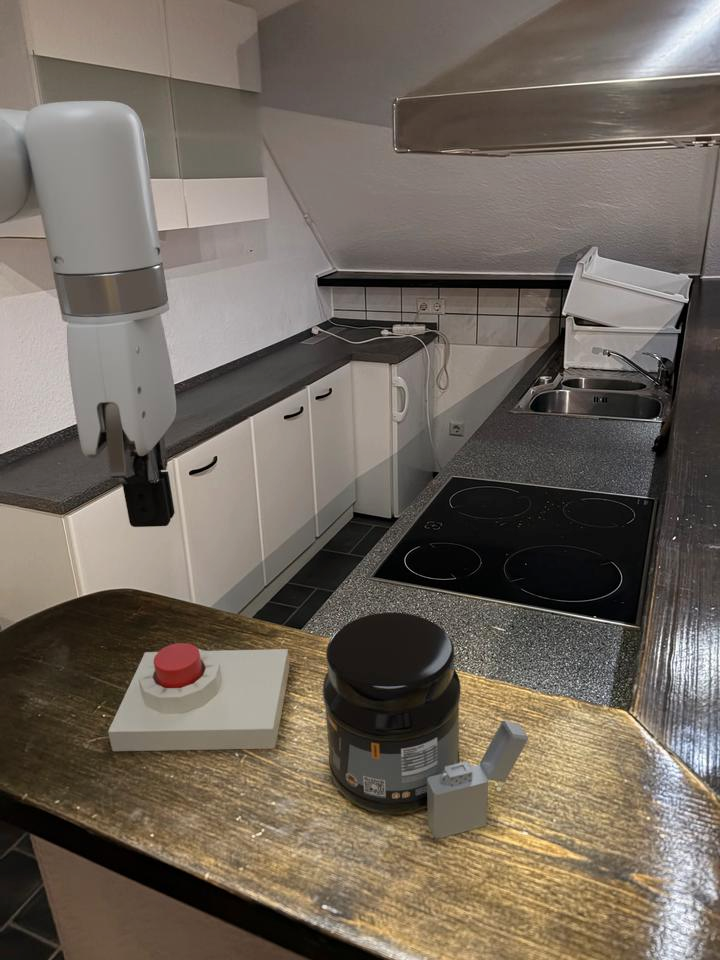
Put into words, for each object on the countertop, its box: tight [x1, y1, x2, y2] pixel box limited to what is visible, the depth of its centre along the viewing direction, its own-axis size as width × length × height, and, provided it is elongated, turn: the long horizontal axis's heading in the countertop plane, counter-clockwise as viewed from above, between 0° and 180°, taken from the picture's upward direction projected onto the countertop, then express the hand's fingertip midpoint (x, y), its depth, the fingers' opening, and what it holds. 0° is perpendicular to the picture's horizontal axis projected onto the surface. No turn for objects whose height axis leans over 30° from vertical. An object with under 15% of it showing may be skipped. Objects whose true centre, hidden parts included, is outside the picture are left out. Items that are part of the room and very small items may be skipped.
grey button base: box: [107, 648, 291, 752], centre depth 69 cm, size 14×11×4 cm
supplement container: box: [322, 612, 462, 815], centre depth 59 cm, size 10×10×12 cm
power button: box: [154, 642, 202, 688], centre depth 68 cm, size 4×4×2 cm
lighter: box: [426, 720, 529, 840], centre depth 55 cm, size 7×2×8 cm, turn 105°
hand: (153, 520), depth 62 cm, fingers closed
